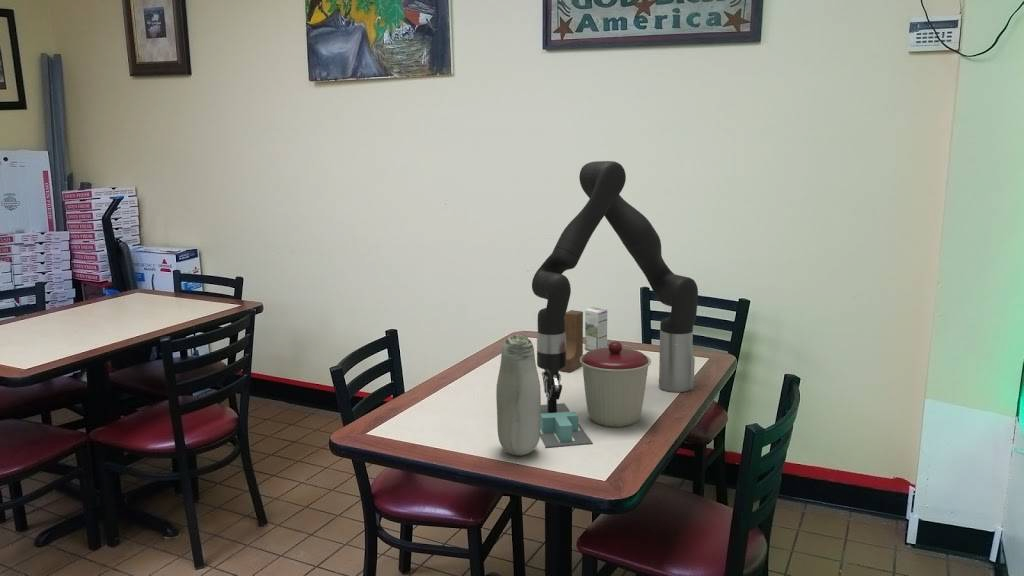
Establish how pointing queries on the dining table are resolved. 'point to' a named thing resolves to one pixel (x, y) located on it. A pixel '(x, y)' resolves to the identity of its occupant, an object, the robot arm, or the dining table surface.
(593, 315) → the syrup box
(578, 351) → the wooden block
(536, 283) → the robot arm
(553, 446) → the mat
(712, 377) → the dining table surface
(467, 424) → the dining table surface
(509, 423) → the glass bottle
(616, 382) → the canister
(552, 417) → the t block
